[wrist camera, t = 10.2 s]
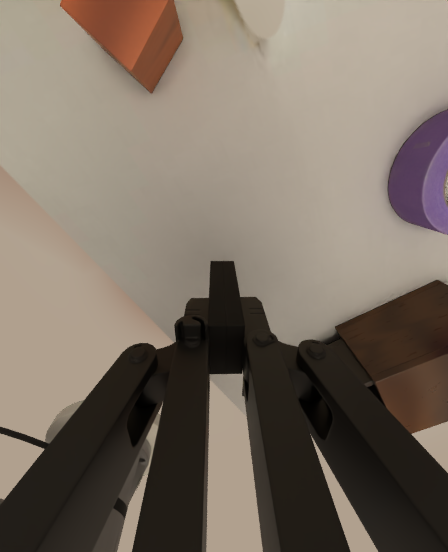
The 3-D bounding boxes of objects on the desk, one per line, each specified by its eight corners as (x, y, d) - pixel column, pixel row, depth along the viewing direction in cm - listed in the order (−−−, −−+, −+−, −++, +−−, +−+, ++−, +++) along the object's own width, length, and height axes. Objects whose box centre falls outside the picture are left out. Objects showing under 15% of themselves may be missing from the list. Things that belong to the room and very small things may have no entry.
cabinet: (359, 377, 39) (399, 437, 31) (334, 326, 34) (374, 382, 26) (450, 340, 37) (522, 395, 28) (437, 279, 32) (521, 324, 23)
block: (100, 46, 20) (59, 4, 15) (131, -18, 18) (96, -92, 13) (151, 93, 22) (130, 71, 16) (183, 38, 20) (172, -7, 15)
